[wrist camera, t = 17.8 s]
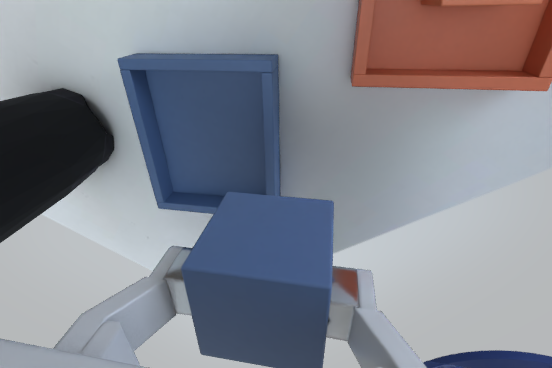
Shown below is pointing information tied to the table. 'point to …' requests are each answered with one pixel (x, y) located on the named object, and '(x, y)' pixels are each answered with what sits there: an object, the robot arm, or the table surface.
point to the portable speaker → (45, 153)
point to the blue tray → (205, 125)
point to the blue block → (263, 280)
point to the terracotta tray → (452, 46)
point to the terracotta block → (479, 2)
